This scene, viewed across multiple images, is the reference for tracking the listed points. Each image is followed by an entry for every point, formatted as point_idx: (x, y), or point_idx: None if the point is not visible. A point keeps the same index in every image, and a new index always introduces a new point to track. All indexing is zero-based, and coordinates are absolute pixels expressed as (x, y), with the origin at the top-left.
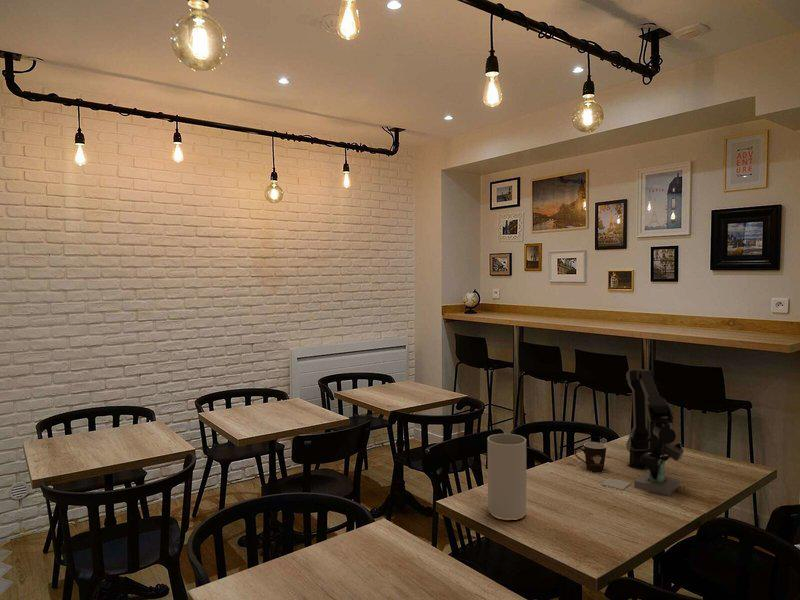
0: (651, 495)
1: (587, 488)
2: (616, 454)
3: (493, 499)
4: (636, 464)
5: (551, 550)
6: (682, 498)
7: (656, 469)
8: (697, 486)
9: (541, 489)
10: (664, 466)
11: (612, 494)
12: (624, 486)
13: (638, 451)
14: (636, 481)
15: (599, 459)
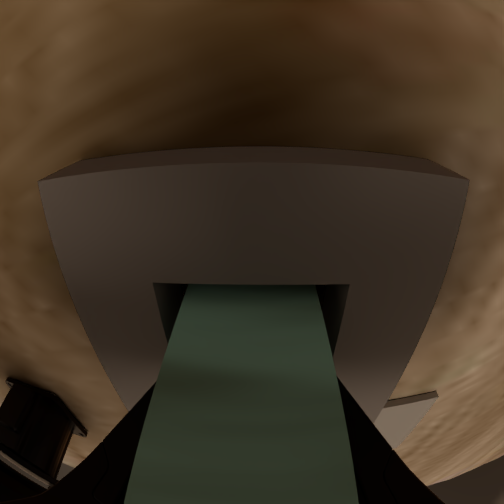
0: (464, 275)
1: (438, 439)
2: None
3: None
4: (64, 426)
5: None
6: (412, 39)
7: (409, 479)
8: (3, 65)
9: (463, 455)
10: (148, 474)
11: (481, 387)
12: (395, 410)
13: (35, 472)
14: (377, 415)
15: None
